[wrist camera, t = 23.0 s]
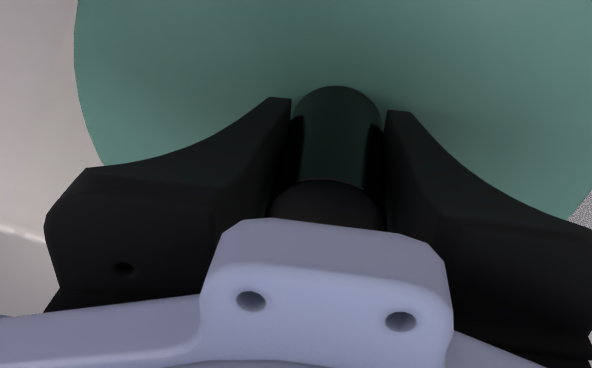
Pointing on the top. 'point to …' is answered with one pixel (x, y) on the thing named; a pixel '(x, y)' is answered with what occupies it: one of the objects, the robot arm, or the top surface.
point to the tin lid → (349, 90)
